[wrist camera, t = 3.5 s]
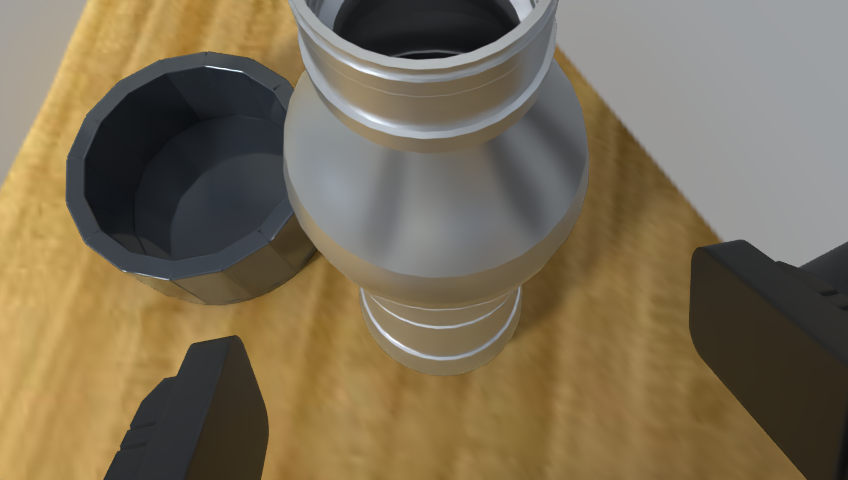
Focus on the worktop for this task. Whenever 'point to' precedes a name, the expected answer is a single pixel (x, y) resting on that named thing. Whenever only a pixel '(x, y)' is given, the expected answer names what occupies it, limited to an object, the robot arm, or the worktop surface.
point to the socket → (190, 179)
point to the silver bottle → (435, 164)
